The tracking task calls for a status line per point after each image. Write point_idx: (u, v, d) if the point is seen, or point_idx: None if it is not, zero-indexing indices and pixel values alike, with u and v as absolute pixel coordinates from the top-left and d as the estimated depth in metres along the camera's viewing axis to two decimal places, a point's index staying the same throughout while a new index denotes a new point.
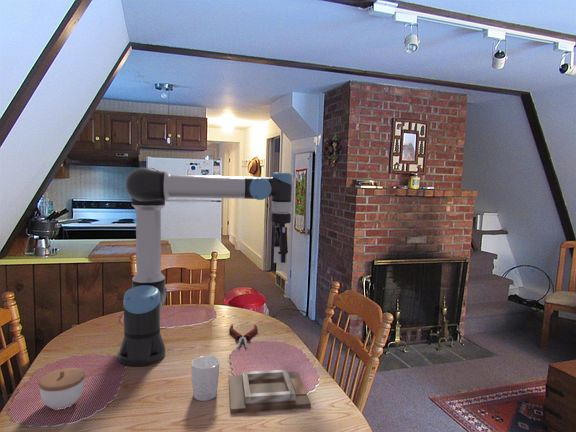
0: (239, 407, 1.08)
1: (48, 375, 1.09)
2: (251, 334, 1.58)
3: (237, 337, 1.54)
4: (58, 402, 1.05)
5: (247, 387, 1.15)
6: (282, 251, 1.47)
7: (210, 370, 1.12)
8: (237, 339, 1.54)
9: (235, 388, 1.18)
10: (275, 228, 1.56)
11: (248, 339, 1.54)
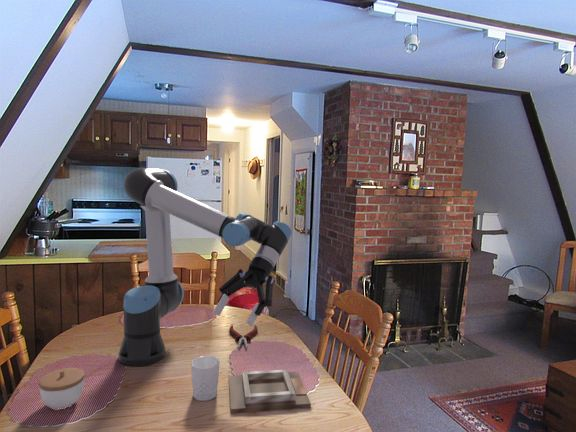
0: (239, 407, 1.08)
1: (48, 375, 1.09)
2: (251, 334, 1.57)
3: (237, 337, 1.53)
4: (58, 402, 1.05)
5: (247, 387, 1.15)
6: (268, 301, 1.21)
7: (210, 370, 1.12)
8: (237, 339, 1.53)
9: (235, 388, 1.18)
10: (250, 274, 1.30)
11: (248, 339, 1.54)
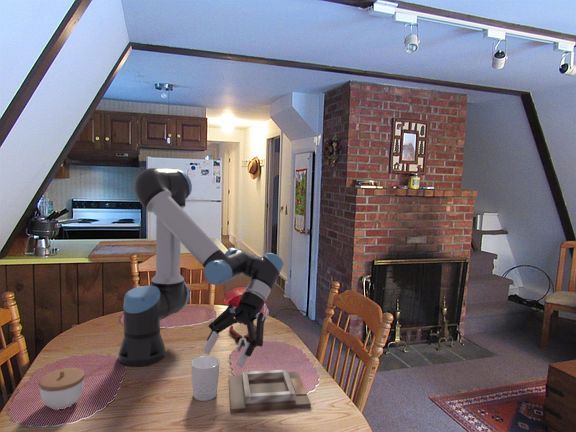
0: (239, 407, 1.08)
1: (48, 375, 1.09)
2: None
3: (237, 338, 1.53)
4: (58, 402, 1.05)
5: (247, 387, 1.15)
6: (259, 341, 1.16)
7: (210, 370, 1.12)
8: (237, 340, 1.53)
9: (235, 388, 1.18)
10: (240, 310, 1.25)
11: (248, 340, 1.53)
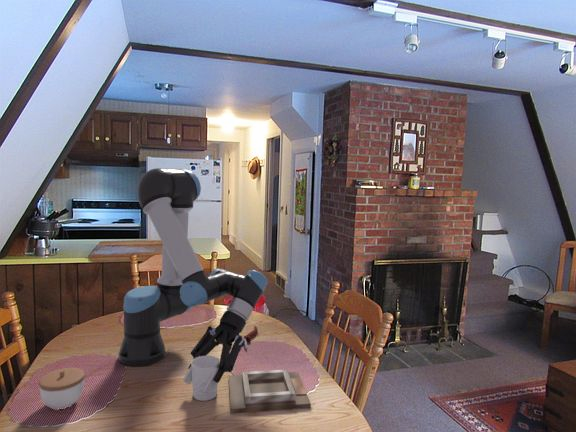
0: (239, 407, 1.08)
1: (48, 375, 1.09)
2: (251, 335, 1.56)
3: None
4: (58, 402, 1.05)
5: (247, 387, 1.15)
6: (228, 367, 1.12)
7: (210, 370, 1.12)
8: None
9: (235, 388, 1.18)
10: (220, 330, 1.21)
11: (248, 340, 1.53)
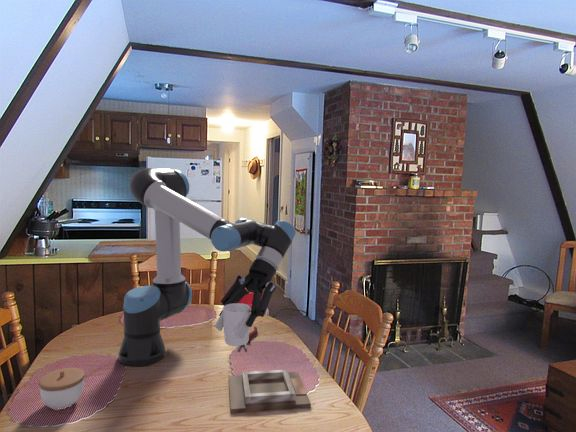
0: (239, 407, 1.08)
1: (48, 375, 1.09)
2: (251, 336, 1.56)
3: None
4: (58, 402, 1.05)
5: (247, 387, 1.15)
6: (261, 311, 1.11)
7: (242, 314, 1.10)
8: None
9: (235, 388, 1.18)
10: (250, 278, 1.19)
11: (248, 341, 1.52)
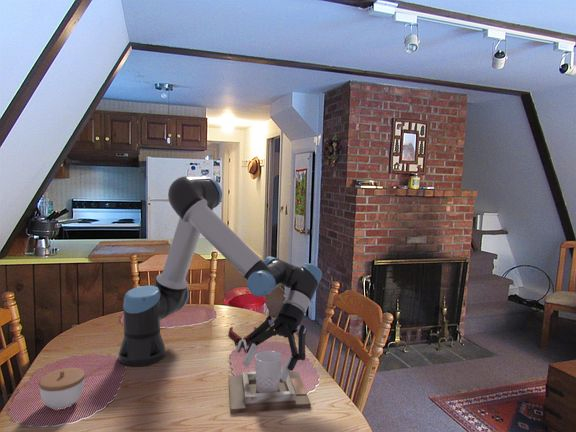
0: (239, 407, 1.08)
1: (48, 375, 1.09)
2: None
3: (237, 339, 1.51)
4: (58, 402, 1.05)
5: (247, 387, 1.15)
6: (302, 355, 1.14)
7: (275, 364, 1.14)
8: (237, 342, 1.51)
9: (235, 388, 1.18)
10: (280, 322, 1.23)
11: (248, 342, 1.52)
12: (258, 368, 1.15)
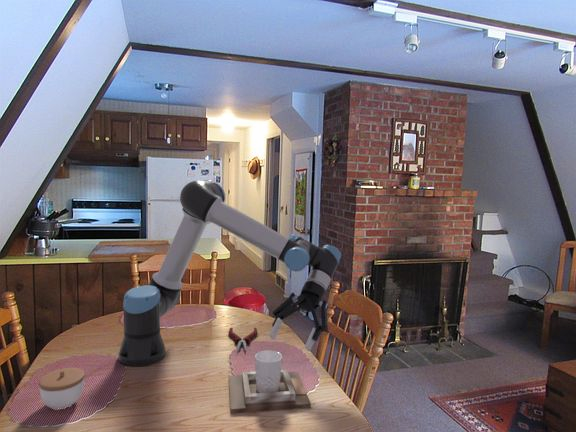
0: (239, 407, 1.08)
1: (48, 375, 1.09)
2: (251, 337, 1.55)
3: (236, 340, 1.51)
4: (58, 402, 1.05)
5: (247, 387, 1.15)
6: (325, 327, 1.23)
7: (275, 364, 1.14)
8: (236, 342, 1.51)
9: (235, 388, 1.18)
10: (303, 298, 1.32)
11: (248, 342, 1.51)
12: (258, 368, 1.15)
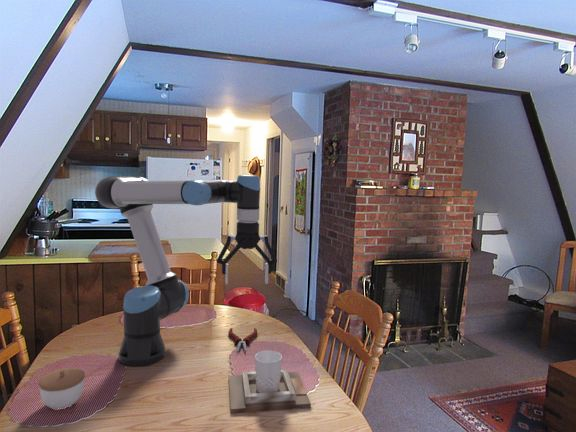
0: (239, 407, 1.08)
1: (48, 375, 1.09)
2: (251, 338, 1.54)
3: (236, 341, 1.50)
4: (58, 402, 1.05)
5: (247, 387, 1.15)
6: (276, 260, 1.37)
7: (275, 364, 1.14)
8: (236, 343, 1.50)
9: (235, 388, 1.18)
10: (245, 240, 1.34)
11: (247, 343, 1.51)
12: (258, 368, 1.15)
